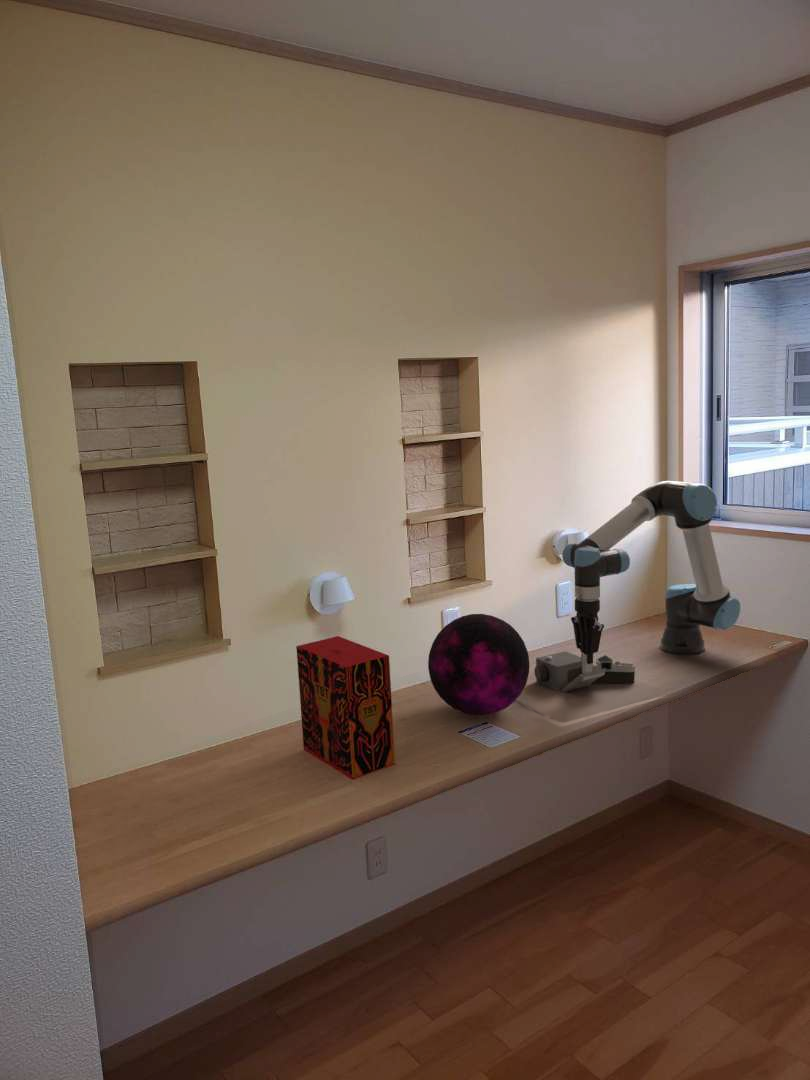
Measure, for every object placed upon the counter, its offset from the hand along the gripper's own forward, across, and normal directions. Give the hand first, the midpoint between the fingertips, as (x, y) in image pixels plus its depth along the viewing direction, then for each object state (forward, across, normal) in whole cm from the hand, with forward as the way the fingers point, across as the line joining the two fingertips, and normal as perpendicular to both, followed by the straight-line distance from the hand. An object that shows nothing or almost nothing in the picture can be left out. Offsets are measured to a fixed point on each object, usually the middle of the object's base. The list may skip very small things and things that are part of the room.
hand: (587, 672), depth 273 cm
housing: (+8, -13, 0) cm, 15 cm away
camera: (+9, -6, +14) cm, 18 cm away
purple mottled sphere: (+9, -9, -34) cm, 36 cm away
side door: (+7, -7, 0) cm, 10 cm away
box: (+9, -2, -81) cm, 81 cm away
